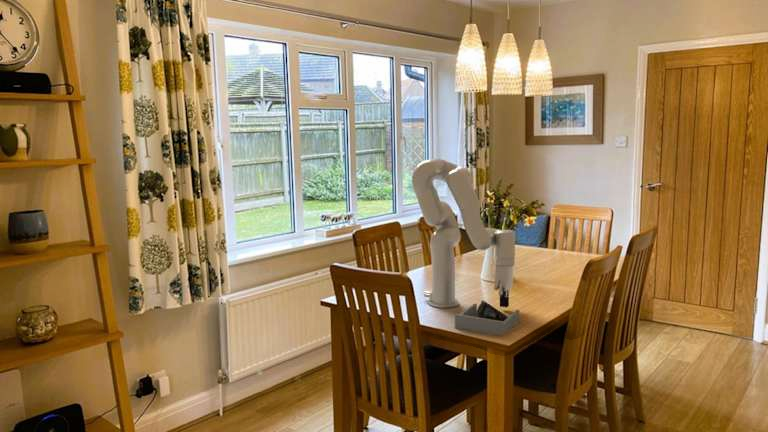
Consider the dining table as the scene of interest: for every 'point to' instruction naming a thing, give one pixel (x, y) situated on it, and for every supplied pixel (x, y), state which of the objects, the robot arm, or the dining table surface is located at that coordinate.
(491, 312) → the chocolate cake
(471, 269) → the dining table surface
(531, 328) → the dining table surface
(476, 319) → the box
